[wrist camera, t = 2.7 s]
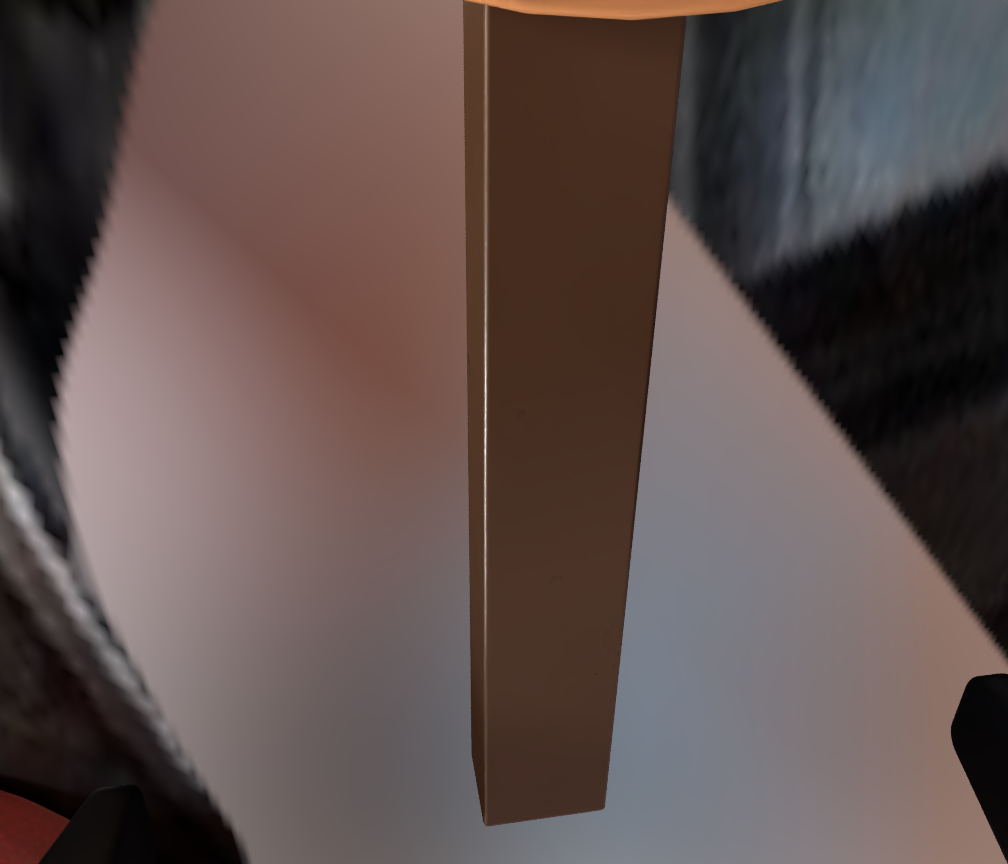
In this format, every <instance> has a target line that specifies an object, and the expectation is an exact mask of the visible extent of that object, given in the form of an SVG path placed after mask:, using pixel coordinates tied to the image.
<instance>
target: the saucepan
mask: <svg viewBox="0 0 1008 864" xmlns="http://www.w3.org/2000/svg"><path fill="white" fill-rule="evenodd" d="M778 1H782V0H463V18H464V20H463V22H464V23H463V24H464V108H465V110H464V111H465V112H464V113H465V197H466V198H465V203H466V284H467V285H466V292H467V373H468V374H467V379H468V380H467V381H468V461H469V462H468V465H469V466H468V470H469V556H470V559H469V560H470V643H471V644H470V649H471V738H472V758H473V764H474V770H475V776H476V781H477V787H478V793H479V799H480V804H481V811H482V816H483V822H484V824H485V825H486V826H493V825H500V824H508V823H515V822H521V821H528V820H535V819H542V818H549V817H556V816H562V815H570V814H577V813H584V812H591V811H598V810H602V809H604V807H605V799H606V790H607V780H608V771H609V761H610V751H611V742H612V732H613V722H614V713H615V702H616V694H617V683H618V674H619V664H620V655H621V645H622V636H623V626H624V617H625V607H626V597H627V588H628V577H629V569H630V559H631V548H632V540H633V530H634V520H635V511H636V501H637V492H638V482H639V472H640V463H641V453H642V443H643V434H644V423H645V414H646V405H647V395H648V385H649V376H650V366H651V357H652V347H653V338H654V327H655V318H656V308H657V299H658V298H657V297H658V289H659V279H660V269H661V260H662V251H663V241H664V232H665V221H666V212H667V203H668V193H669V184H670V174H671V164H672V155H673V145H674V135H675V126H676V116H677V107H678V97H679V87H680V78H681V68H682V58H683V49H684V39H685V30H686V20H687V16H688V15H700V14H712V13H724V12H735V11H739V10H744V9H748V8H752V7H757V6H761V5H765V4H769V3H774V2H778Z"/></svg>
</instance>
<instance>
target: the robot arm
mask: <svg viewBox="0 0 1008 864" xmlns="http://www.w3.org/2000/svg"><path fill="white" fill-rule="evenodd" d="M951 738H952V742H953V746H954V749H955V751H956V753H957V755H958V758H959V760H960V762H961V764H962V766H963V768H964V771H965V772H966V775H967V777H968V779H969V781H970V784H971V786H972V788H973V790H974V792H975V794H976V796H977V798H978V801H979V803H980V805H981V807H982V809H983V811H984V814H985V816H986V818H987V820H988V822H989V825H990V827H991V829H992V831H993V833H994V835H995V838H996V839H997V842H998V844H999V846H1000V848H1001V851H1002V853H1003V855H1004V857H1005V859H1006V861H1007V863H1008V674H992V675H984V676H977V677H974V678H972V679H971V680H970V681H969V682H968V684H967V685H966V687H965V690H964V693H963V695H962V698H961V701H960V704H959V706H958V709H957V711H956V714H955V717H954V719H953V722H952V725H951ZM155 863H156V842H155V835H154V831H153V828H152V825H151V821H150V818H149V814H148V811H147V808H146V804H145V801H144V797H143V794H142V791H141V790H140V788H139V787H138V786H137V785H135V784H126V785H119V786H111V787H103V788H99V789H97V790H95V791H94V792H92V793H91V794H90V795H89V796H88V797H87V799H86V800H85V801H84V803H83V804H82V805H81V807H80V808H79V809H78V811H77V812H76V813H75V815H74V816H73V817H72V819H71V820H70V822H69V823H68V824H67V826H66V827H65V828H64V830H63V831H62V832H61V834H60V835H59V836H58V838H57V839H56V840H55V842H54V843H53V844H52V846H51V847H50V848H49V850H48V851H47V852H46V854H45V855H44V856H43V858H42V859H41V860H40V862H39V863H38V864H155Z"/></svg>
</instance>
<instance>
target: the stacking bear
mask: <svg viewBox="0 0 1008 864" xmlns="http://www.w3.org/2000/svg"><path fill="white" fill-rule="evenodd" d="M69 822H70V820H68V819H67V818H65V817H63V816H61V815H59V814H57V813H55V812H53V811H51V810H49V809H47V808H45V807H43V806H41V805H39V804H36V803H34V802H32V801H30V800H27V799H25V798H23V797H20V796H17V795H14V794H11V793H8V792H5V791H2V790H0V864H38V863H39V862H40V860H41V859H42V858H43V856H44V855H45V854H46V852H47V851H48V850H49V848H50V847H51V846H52V844H53V843H54V842H55V840H56V839H57V838H58V836H59V835H60V834H61V832H62V831H63V830H64V828H65V827H66V826H67V824H68V823H69Z"/></svg>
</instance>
